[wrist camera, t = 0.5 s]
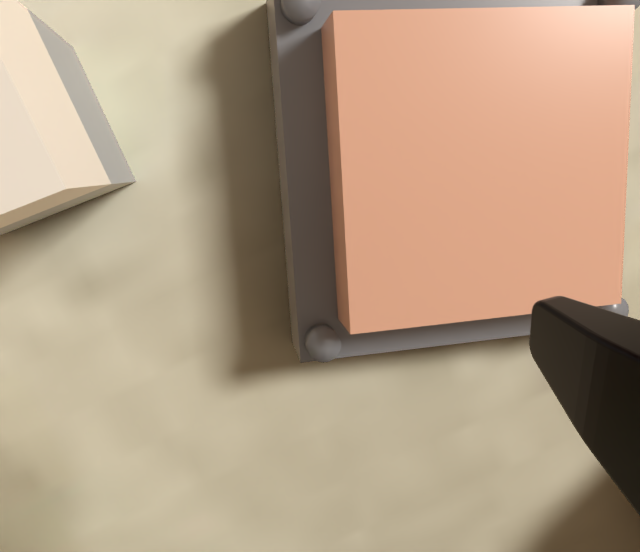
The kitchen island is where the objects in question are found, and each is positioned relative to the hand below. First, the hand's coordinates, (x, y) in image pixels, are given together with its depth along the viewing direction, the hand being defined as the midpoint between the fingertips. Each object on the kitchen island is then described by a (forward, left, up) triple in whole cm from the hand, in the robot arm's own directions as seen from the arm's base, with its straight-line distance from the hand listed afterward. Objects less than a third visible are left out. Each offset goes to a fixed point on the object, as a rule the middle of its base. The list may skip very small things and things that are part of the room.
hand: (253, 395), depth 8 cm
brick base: (+3, -9, -14) cm, 17 cm away
